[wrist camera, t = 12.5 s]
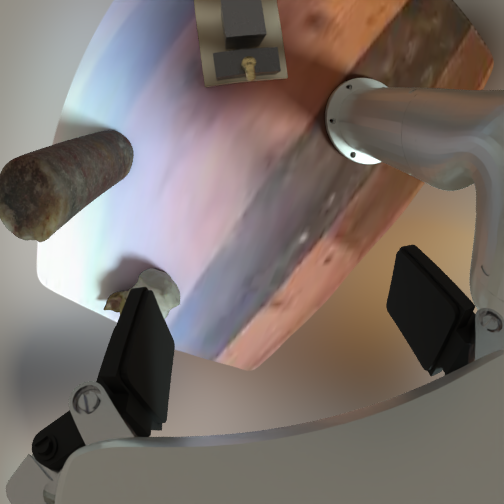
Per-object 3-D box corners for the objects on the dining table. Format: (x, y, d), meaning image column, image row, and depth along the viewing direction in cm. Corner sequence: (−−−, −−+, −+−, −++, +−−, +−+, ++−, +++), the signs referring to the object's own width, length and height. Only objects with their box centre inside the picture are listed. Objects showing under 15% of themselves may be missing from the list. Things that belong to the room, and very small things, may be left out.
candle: (99, 120, 29) (-1, 147, 12) (145, 138, 32) (67, 176, 14) (83, 171, 32) (-8, 233, 15) (125, 188, 35) (52, 266, 17)
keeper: (213, 58, 26) (212, 49, 21) (272, 52, 27) (281, 42, 22) (218, 89, 28) (216, 85, 24) (276, 82, 29) (286, 78, 24)
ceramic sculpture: (195, 323, 36) (143, 364, 41) (201, 284, 43) (152, 327, 48) (129, 278, 32) (89, 331, 37) (147, 243, 39) (106, 296, 44)
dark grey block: (216, -14, 21) (216, -34, 16) (249, -16, 21) (254, -36, 16) (225, 49, 26) (225, 37, 21) (259, 46, 26) (266, 33, 21)
